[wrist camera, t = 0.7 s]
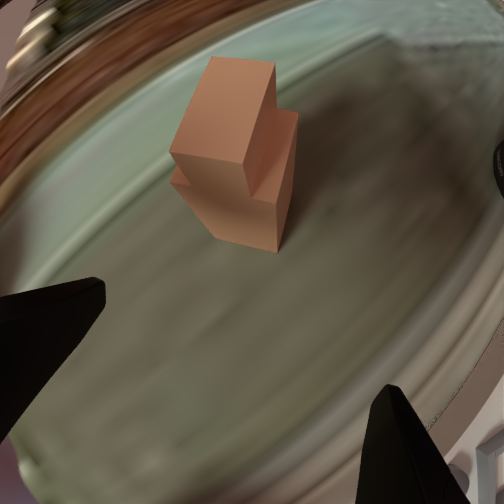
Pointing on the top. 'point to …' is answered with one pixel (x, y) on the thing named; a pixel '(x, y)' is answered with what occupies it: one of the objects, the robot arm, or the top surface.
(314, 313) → the top surface
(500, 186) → the pen holder
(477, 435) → the tray
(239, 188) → the post
